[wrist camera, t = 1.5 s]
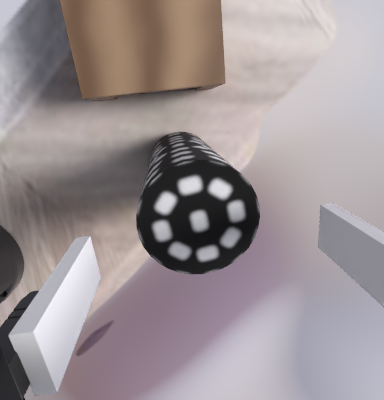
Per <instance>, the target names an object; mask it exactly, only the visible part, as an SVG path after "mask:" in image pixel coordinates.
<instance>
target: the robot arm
mask: <svg viewBox="0 0 384 400" xmlns="http://www.w3.org/2000/svg"><path fill="white" fill-rule="evenodd" d="M318 247H319V248H320V249H321V250H322V251H323V252H324V253H325V254H326V255H327V256H328V257H330V258H331V259H332V260H333V261H334V262H335V263H336V264H337V265H338V266H339V267H340V268H342V269H343V270H344V271H345V272H346V273H347V274H348V275H349V276H350V277H351V278H352V279H354V280H355V281H356V282H357V283H358V284H359V285H360V286H361V287H362V288H363V289H364V290H365V291H366V292H368V293H369V294H370V295H371V296H372V297H373V298H374V299H375V300H376V301H377V302H378V303H380V304H381V305H382V306H383V307H384V232H383V231H381V230H379V229H378V228H376V227H374V226H372V225H371V224H369V223H367V222H365V221H364V220H362V219H360V218H358V217H357V216H355V215H353V214H352V213H350V212H348V211H346V210H345V209H343V208H341V207H339V206H338V205H336V204H334V203H332V204H324V205H321V208H320V225H319V240H318ZM23 271H24V261H23V256H22V253H21V250H20V248H19V246H18V244H17V243H16V241H15V240H14V238H13V237H12V236H11V235H10V234H9V233H8V232H7V231H6V230H5V229H4V228H3V227H1V226H0V303H2V302H3V301H4V300H5V299H6V298H7V297H8V296H9V295H10V294H11V293H12V292H13V290H14V289H15V288H16V287H17V285H18V284H19V282H20V280H21V278H22V275H23ZM100 279H101V276H100V272H99V268H98V264H97V261H96V257H95V253H94V249H93V245H92V242H91V238H90V236H86V237H79V238H75V240H74V241H73V243H72V244H71V246H70V247H69V249H68V250H67V251H66V253H65V254H64V256H63V257H62V259H61V260H60V262H59V263H58V264H57V266H56V267H55V269H54V270H53V272H52V273H51V275H50V276H49V277H48V279H47V280H46V282H45V283H44V285H43V286H42V287H41V289H40V290H39V291H33V292H31V293H29V294H28V295H27V296H26V297H24V298H23V299H22V300H21V301H20V302H19V303H18V305H17V306H16V307H15V309H14V311H13V312H12V313H11V314H10V315H9V317H8V319H7V320H6V321H5V322H4V323H3V324H2V326H1V327H0V400H25V398H24V395H25V393H26V390H27V389H28V387H29V385H30V386H31V388H32V391H33V393H34V395H35V396H38V395H45V394H50V393H57V392H58V389H59V386H60V384H61V381H62V379H63V376H64V373H65V371H66V368H67V366H68V363H69V360H70V358H71V355H72V353H73V350H74V347H75V345H76V342H77V339H78V337H79V334H80V332H81V329H82V326H83V324H84V321H85V319H86V316H87V313H88V311H89V308H90V306H91V303H92V300H93V298H94V295H95V292H96V290H97V287H98V285H99V282H100Z"/></svg>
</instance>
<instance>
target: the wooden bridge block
mask: <svg viewBox="0 0 384 400" xmlns="http://www.w3.org/2000/svg"><path fill="white" fill-rule="evenodd" d="M60 4H61V8H62V12H63V17H64V21H65V25H66V30H67V34H68V39H69V43H70V47H71V52H72V56H73V60H74V65H75V69H76V73H77V78H78V82H79V87H80V91H81V95H82V99H90V100H99V101H102V100H112V99H117V96H122V95H132V94H141V93H150V92H159V91H169V90H178V89H187V88H196V90H204V89H212V88H215V87H217V86H220V85H222V84H225V66H224V48H223V31H222V13H221V0H60Z"/></svg>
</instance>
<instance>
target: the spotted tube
mask: <svg viewBox="0 0 384 400" xmlns="http://www.w3.org/2000/svg"><path fill="white" fill-rule="evenodd" d="M259 218H260V212H259V203H258V200H257V196H256V194H255V192H254V190H253V188H252V186H251V184H250V183H249V182H248V181H247V180H246V178H245V177H244V176H243V175H242V174H241V173H240V172H238V171H237V170H236V169H235V168H234V167H233V166H231V165H230V164H229V163H228V162H227V161H226V160H224V159H223V158H222V157H221V156H220V155H219V154H217V153H216V152H215V151H214V150H213V149H212V148H211V147H209V146H208V145H207V144H206V143H205V142H204V141H202V140H201V139H200V138H199V137H197V136H195V135H193V134H191V133H187V132H175V133H172V134H169V135H167V136H165V137H164V138H162V139H161V140H160V141H159V142H158V143H157V145H156V146H155V147H154V150H153V152H152V155H151V159H150V163H149V167H148V170H147V174H146V178H145V182H144V185H143V189H142V193H141V197H140V201H139V205H138V209H137V214H136V221H137V230H138V235H139V238H140V240H141V242H142V244H143V246H144V248H145V249H146V251H147V252H148V253H149V255H150V256H151V257H152V258H154V259H155V260H156V261H157V262H158V263H160V264H161V265H163V266H165V267H166V268H168V269H171V270H174V271H176V272H180V273H186V274H204V273H210V272H214V271H216V270H219V269H222V268H224V267H226V266H228V265H229V264H231V263H233V262H234V261H235V260H237V259H238V258H239V257H240V256H242V254H243V253H244V252H245V251H246V250H247V249H248V248H249V246H250V244H251V243H252V241H253V239H254V238H255V235H256V232H257V229H258V225H259Z"/></svg>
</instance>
